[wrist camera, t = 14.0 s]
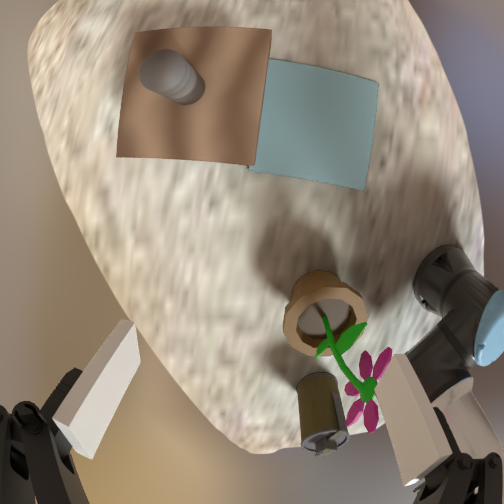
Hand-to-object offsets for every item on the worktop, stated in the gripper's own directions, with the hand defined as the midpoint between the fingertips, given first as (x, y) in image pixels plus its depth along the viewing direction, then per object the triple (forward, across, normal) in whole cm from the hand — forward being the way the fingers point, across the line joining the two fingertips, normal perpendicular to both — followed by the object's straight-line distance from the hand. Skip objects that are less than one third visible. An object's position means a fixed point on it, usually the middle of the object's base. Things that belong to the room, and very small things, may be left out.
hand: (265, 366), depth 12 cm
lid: (+25, +11, -16) cm, 32 cm away
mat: (+36, -6, -16) cm, 40 cm away
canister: (+37, -19, +41) cm, 58 cm away
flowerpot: (+37, -12, +15) cm, 42 cm away
